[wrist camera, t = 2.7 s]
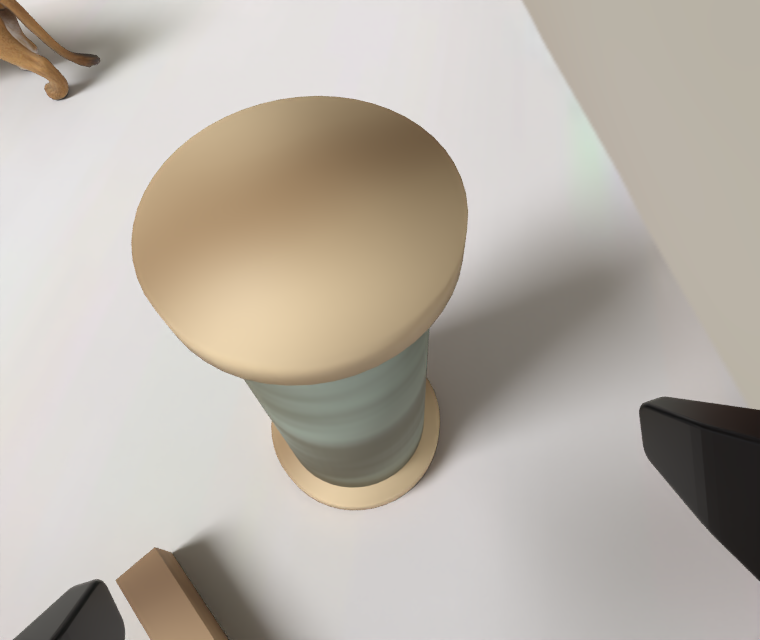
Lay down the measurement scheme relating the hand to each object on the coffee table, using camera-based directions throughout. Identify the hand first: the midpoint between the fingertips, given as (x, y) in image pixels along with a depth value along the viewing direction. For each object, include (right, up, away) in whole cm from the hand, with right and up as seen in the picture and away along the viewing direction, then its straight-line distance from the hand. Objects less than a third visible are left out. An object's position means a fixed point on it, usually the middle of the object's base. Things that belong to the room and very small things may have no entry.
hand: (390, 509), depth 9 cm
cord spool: (-1, -1, +13) cm, 13 cm away
